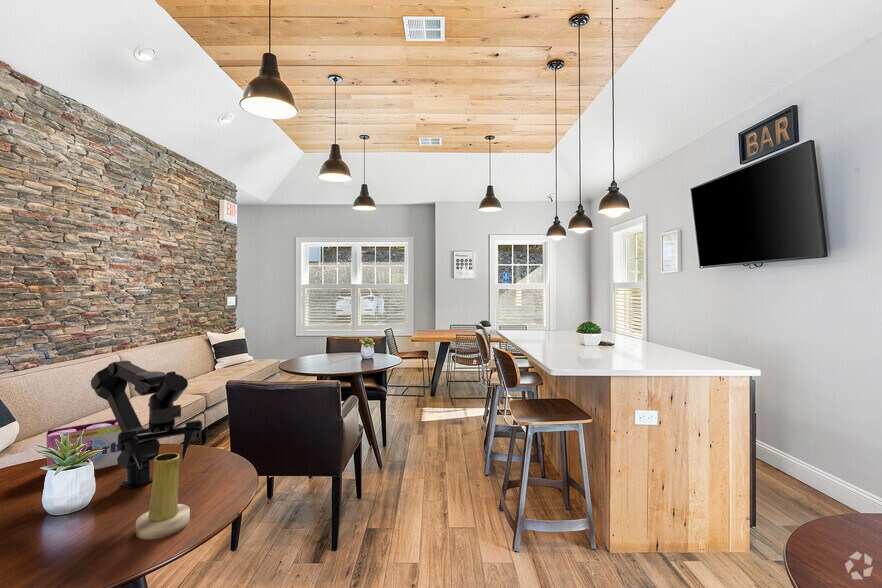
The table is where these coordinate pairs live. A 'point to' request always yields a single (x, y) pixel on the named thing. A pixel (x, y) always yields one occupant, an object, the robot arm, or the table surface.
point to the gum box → (97, 434)
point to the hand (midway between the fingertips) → (162, 464)
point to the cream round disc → (162, 524)
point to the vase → (164, 487)
